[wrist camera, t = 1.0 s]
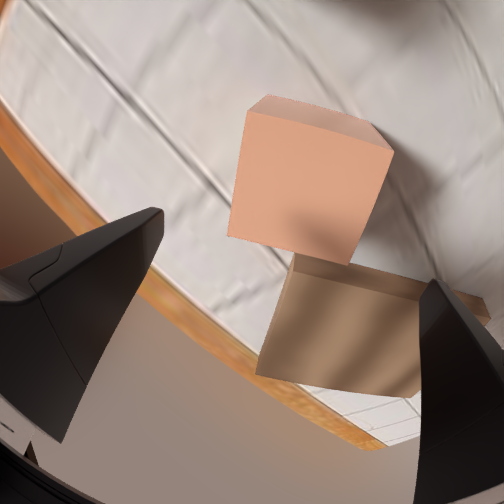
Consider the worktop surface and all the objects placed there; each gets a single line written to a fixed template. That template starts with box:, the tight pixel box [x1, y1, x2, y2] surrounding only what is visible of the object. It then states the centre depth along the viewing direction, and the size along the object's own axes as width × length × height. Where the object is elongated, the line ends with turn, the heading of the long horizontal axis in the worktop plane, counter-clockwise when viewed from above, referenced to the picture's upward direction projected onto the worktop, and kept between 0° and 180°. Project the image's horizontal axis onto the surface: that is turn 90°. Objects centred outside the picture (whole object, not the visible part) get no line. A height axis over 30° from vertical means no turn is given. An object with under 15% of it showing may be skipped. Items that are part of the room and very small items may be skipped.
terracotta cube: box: [227, 95, 394, 266], centre depth 15 cm, size 6×6×6 cm
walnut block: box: [255, 252, 491, 398], centre depth 25 cm, size 18×14×3 cm
